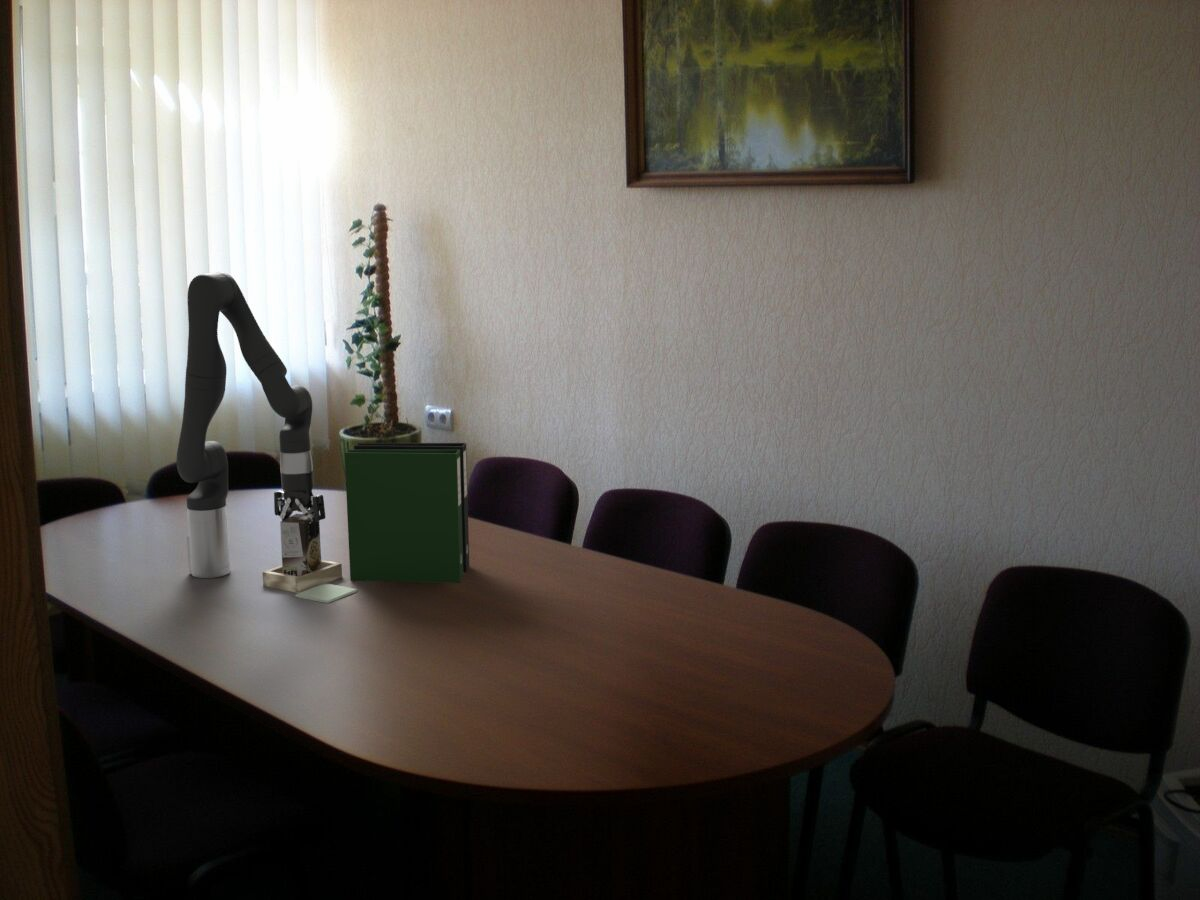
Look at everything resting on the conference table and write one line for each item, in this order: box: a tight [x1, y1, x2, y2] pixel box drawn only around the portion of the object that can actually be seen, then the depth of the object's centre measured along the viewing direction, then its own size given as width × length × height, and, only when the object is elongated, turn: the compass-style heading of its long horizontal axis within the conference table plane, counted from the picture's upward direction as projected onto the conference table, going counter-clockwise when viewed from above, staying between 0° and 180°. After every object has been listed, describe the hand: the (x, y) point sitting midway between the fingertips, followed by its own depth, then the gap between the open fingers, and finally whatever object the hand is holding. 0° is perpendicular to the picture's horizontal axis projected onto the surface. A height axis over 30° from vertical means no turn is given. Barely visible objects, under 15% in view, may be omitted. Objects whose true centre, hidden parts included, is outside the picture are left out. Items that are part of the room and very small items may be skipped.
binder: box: [344, 442, 470, 584], centre depth 292 cm, size 27×15×32 cm, turn 87°
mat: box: [295, 583, 358, 604], centre depth 279 cm, size 10×10×1 cm
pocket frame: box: [261, 559, 343, 594], centre depth 289 cm, size 12×15×4 cm
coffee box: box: [279, 513, 322, 577], centre depth 288 cm, size 9×6×16 cm
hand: (301, 535), depth 287 cm, fingers open, 8 cm apart
